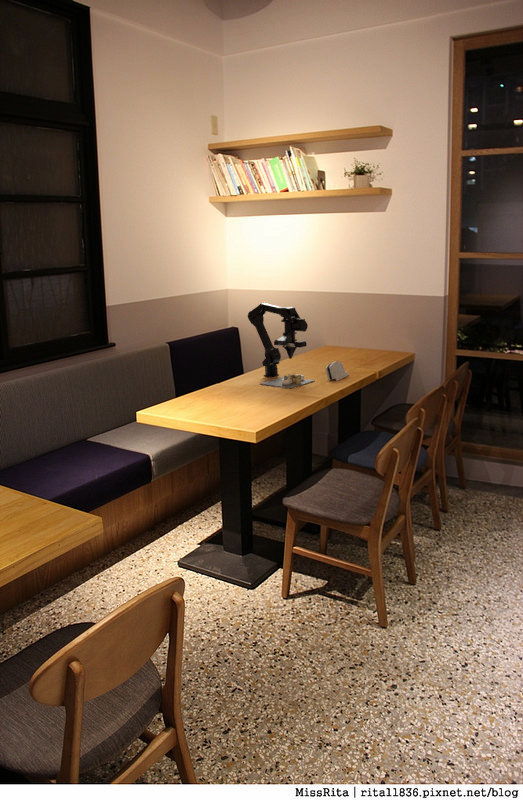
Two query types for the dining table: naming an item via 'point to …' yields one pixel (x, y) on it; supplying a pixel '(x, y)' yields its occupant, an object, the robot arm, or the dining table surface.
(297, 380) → the block
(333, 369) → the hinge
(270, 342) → the robot arm
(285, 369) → the dining table surface
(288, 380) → the link
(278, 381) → the board
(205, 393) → the dining table surface
